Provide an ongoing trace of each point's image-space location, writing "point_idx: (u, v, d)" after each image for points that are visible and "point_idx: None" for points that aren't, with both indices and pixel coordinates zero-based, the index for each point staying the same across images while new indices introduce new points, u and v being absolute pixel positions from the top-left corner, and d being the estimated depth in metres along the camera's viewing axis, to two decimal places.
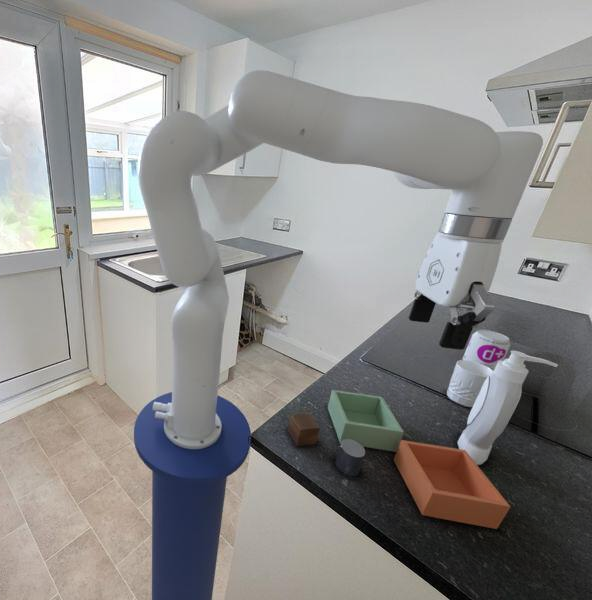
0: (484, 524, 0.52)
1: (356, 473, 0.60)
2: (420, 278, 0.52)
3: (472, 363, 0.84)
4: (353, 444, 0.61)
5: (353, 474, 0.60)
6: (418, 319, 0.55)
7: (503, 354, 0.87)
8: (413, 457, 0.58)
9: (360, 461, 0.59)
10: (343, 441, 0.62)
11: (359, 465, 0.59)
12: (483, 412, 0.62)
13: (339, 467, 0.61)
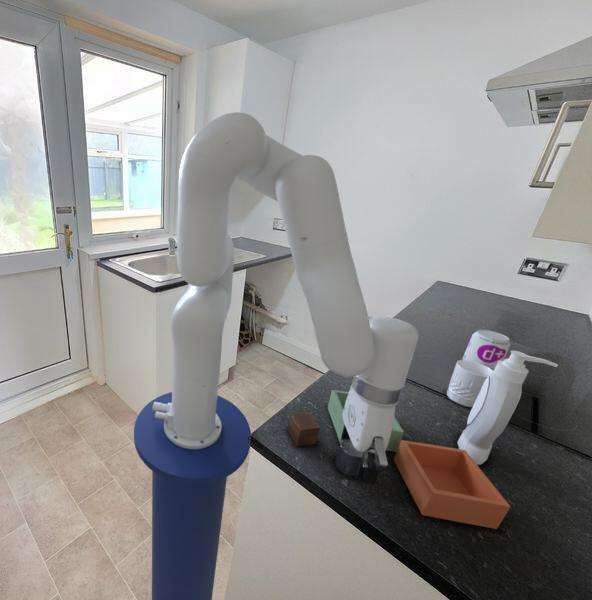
0: (484, 524, 0.52)
1: (356, 473, 0.60)
2: (345, 412, 0.61)
3: (472, 363, 0.84)
4: None
5: (353, 474, 0.60)
6: None
7: (503, 354, 0.87)
8: (413, 457, 0.58)
9: (360, 461, 0.59)
10: (343, 441, 0.62)
11: None
12: (483, 412, 0.62)
13: (339, 467, 0.61)
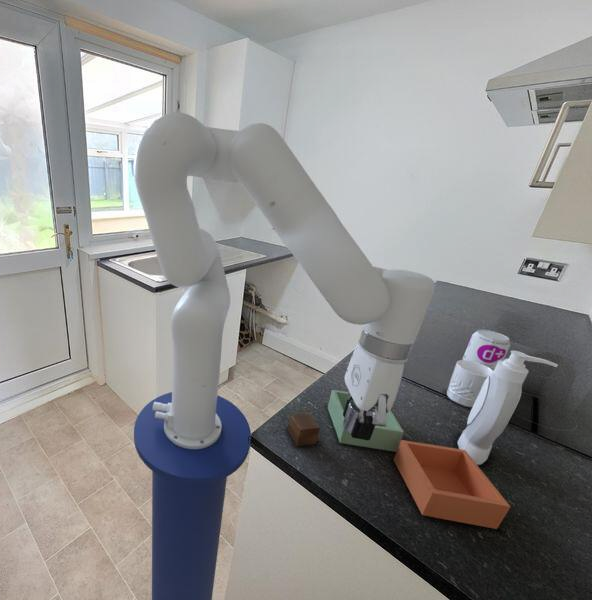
0: (484, 524, 0.52)
1: None
2: (348, 373, 0.59)
3: (472, 363, 0.84)
4: None
5: None
6: None
7: (503, 354, 0.87)
8: (413, 457, 0.58)
9: None
10: (352, 401, 0.59)
11: None
12: (483, 412, 0.62)
13: (347, 428, 0.58)
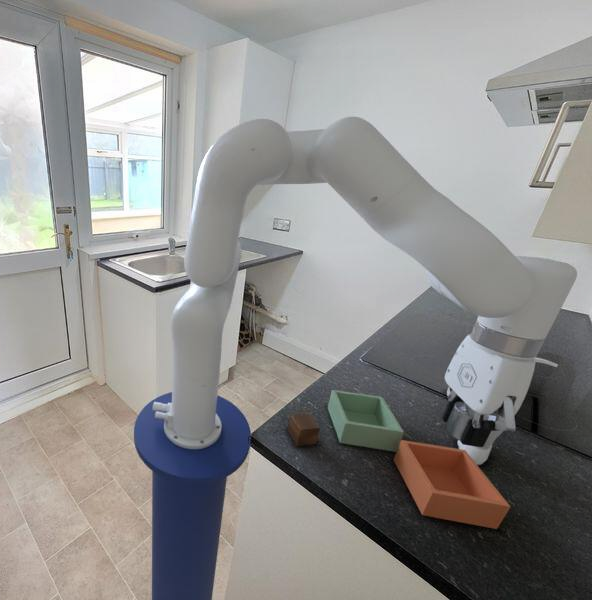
0: (484, 524, 0.52)
1: None
2: (450, 374, 0.54)
3: None
4: None
5: None
6: None
7: None
8: (413, 457, 0.58)
9: None
10: (457, 404, 0.53)
11: None
12: None
13: (454, 434, 0.53)
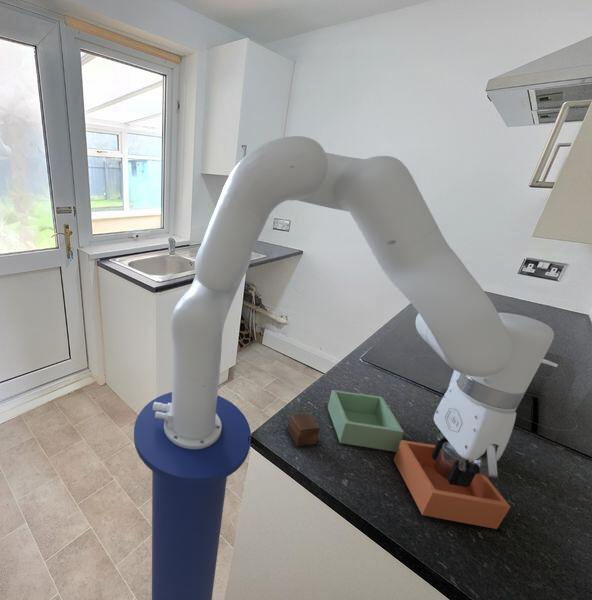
0: (484, 524, 0.52)
1: None
2: (439, 415, 0.57)
3: None
4: None
5: None
6: None
7: None
8: (413, 457, 0.58)
9: None
10: (445, 444, 0.56)
11: None
12: None
13: (442, 473, 0.56)
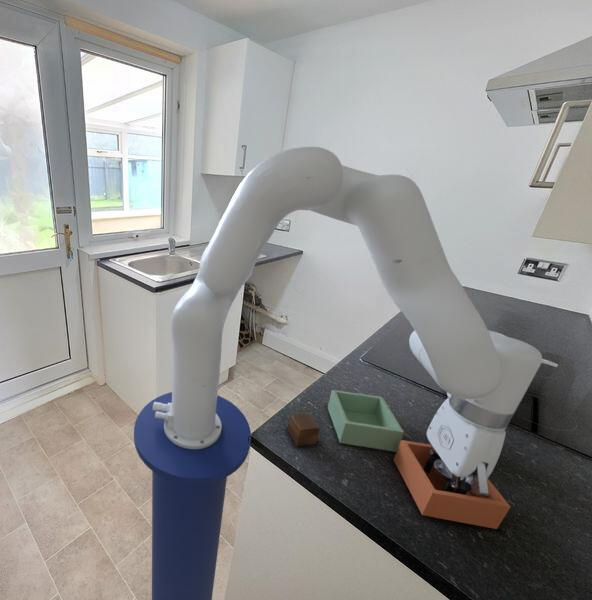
0: (484, 524, 0.52)
1: None
2: (432, 431, 0.58)
3: None
4: None
5: None
6: None
7: None
8: (413, 457, 0.58)
9: None
10: (436, 462, 0.58)
11: None
12: None
13: None
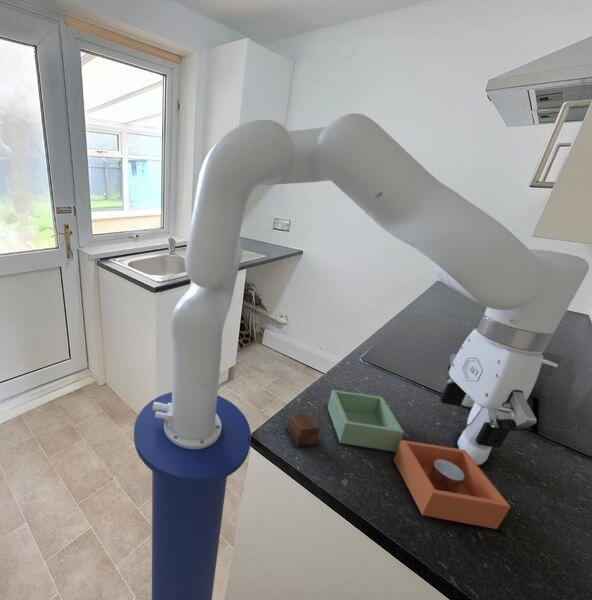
0: (484, 524, 0.52)
1: None
2: (455, 368, 0.53)
3: None
4: (448, 465, 0.57)
5: None
6: (450, 402, 0.57)
7: None
8: (413, 457, 0.58)
9: (460, 484, 0.55)
10: (436, 462, 0.58)
11: (457, 489, 0.55)
12: (483, 412, 0.62)
13: None
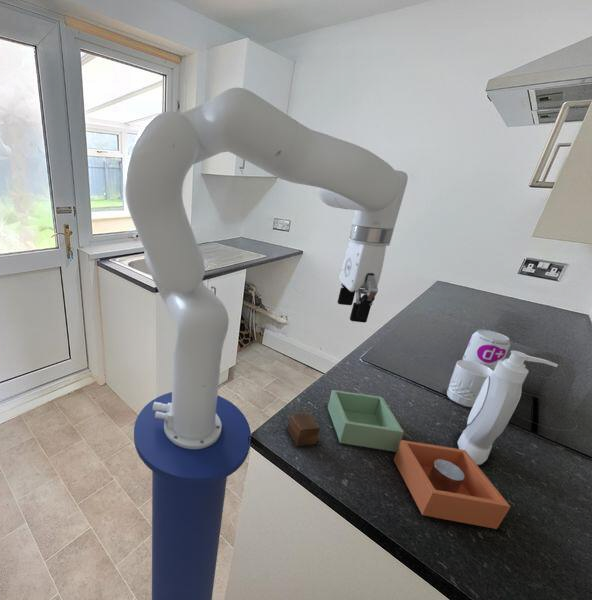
0: (484, 524, 0.52)
1: None
2: (341, 271, 0.70)
3: (472, 363, 0.84)
4: (448, 465, 0.57)
5: None
6: (344, 303, 0.73)
7: (503, 354, 0.87)
8: (413, 457, 0.58)
9: (460, 484, 0.55)
10: (436, 462, 0.58)
11: (457, 489, 0.55)
12: (483, 412, 0.62)
13: None
